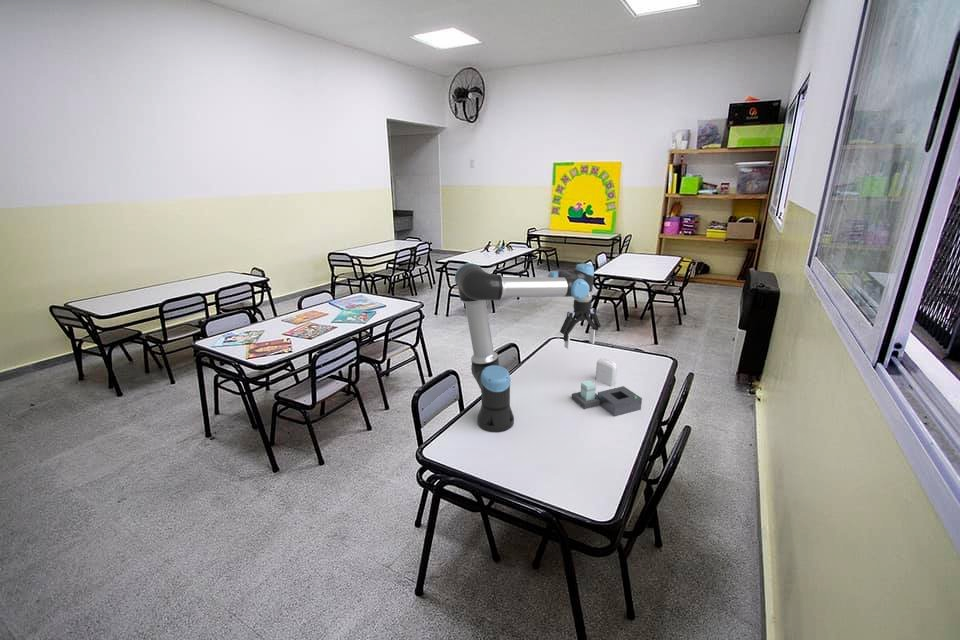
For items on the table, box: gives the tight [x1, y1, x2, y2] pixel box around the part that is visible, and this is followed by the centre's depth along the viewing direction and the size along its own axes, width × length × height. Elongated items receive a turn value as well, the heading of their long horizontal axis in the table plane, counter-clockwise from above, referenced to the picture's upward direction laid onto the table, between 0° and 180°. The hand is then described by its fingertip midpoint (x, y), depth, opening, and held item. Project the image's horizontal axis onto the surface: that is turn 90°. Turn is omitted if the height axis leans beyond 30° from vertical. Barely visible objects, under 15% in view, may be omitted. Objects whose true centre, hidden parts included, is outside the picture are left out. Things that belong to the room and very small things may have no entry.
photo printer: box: [595, 357, 618, 387], centre depth 211 cm, size 10×4×12 cm, turn 39°
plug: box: [580, 380, 597, 401], centre depth 194 cm, size 5×5×9 cm
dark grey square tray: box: [571, 391, 601, 410], centre depth 195 cm, size 10×10×3 cm
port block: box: [597, 385, 643, 418], centre depth 190 cm, size 14×12×6 cm
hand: (579, 345), depth 196 cm, fingers open, 13 cm apart
